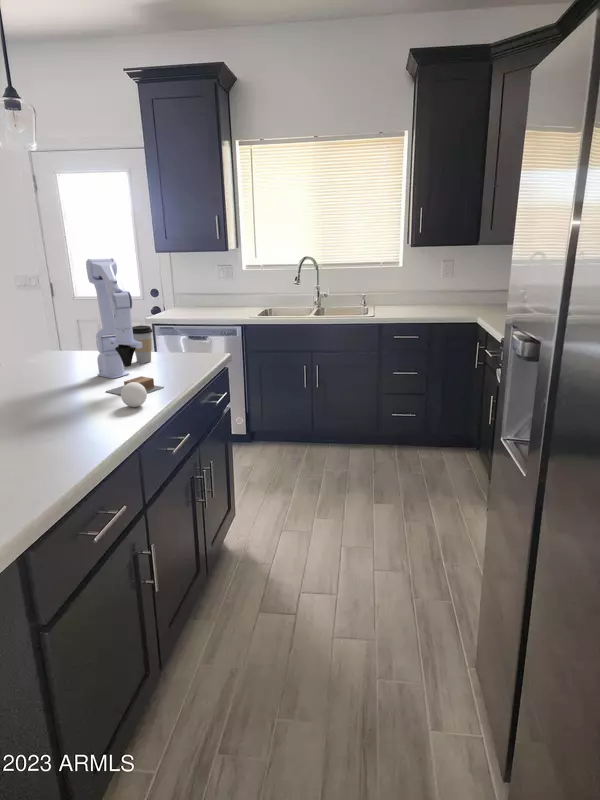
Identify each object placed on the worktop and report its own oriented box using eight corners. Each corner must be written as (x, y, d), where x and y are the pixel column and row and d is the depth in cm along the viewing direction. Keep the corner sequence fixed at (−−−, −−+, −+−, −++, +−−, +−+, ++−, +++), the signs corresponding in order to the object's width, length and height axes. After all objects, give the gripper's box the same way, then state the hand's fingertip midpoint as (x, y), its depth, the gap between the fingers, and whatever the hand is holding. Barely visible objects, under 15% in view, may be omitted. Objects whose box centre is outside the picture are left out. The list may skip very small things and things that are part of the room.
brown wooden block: (123, 381, 182) (136, 383, 179) (141, 376, 188) (153, 378, 185) (125, 391, 183) (137, 393, 180) (142, 385, 189) (154, 387, 187)
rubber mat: (105, 392, 183) (105, 391, 183) (136, 382, 194) (136, 381, 194) (134, 398, 176) (133, 397, 176) (163, 387, 188) (163, 387, 188)
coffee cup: (145, 358, 232) (142, 324, 227) (160, 361, 227) (157, 326, 222) (128, 362, 224) (124, 327, 220) (142, 365, 219) (138, 330, 215)
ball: (134, 412, 163) (132, 387, 160) (116, 408, 166) (113, 384, 164) (153, 405, 169) (151, 381, 167) (135, 401, 173) (133, 378, 171)
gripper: (99, 327, 180) (104, 365, 184) (129, 331, 173) (133, 371, 177) (116, 324, 186) (120, 361, 190) (145, 328, 179) (149, 366, 183)
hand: (127, 366), depth 184 cm, fingers closed
